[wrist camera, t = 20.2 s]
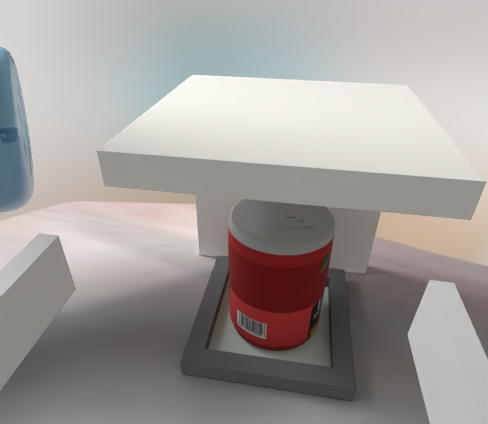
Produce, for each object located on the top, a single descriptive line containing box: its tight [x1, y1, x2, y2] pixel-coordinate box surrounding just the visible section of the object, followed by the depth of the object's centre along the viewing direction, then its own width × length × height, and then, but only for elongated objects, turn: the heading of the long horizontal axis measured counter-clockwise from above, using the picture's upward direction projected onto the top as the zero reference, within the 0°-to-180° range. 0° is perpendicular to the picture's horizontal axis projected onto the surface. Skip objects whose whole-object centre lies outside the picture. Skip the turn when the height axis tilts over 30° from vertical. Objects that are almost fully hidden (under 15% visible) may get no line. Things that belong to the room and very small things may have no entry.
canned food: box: [228, 199, 335, 351], centre depth 31 cm, size 8×8×11 cm
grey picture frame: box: [181, 255, 356, 401], centre depth 33 cm, size 13×13×2 cm
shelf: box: [97, 75, 486, 274], centre depth 29 cm, size 17×18×19 cm
